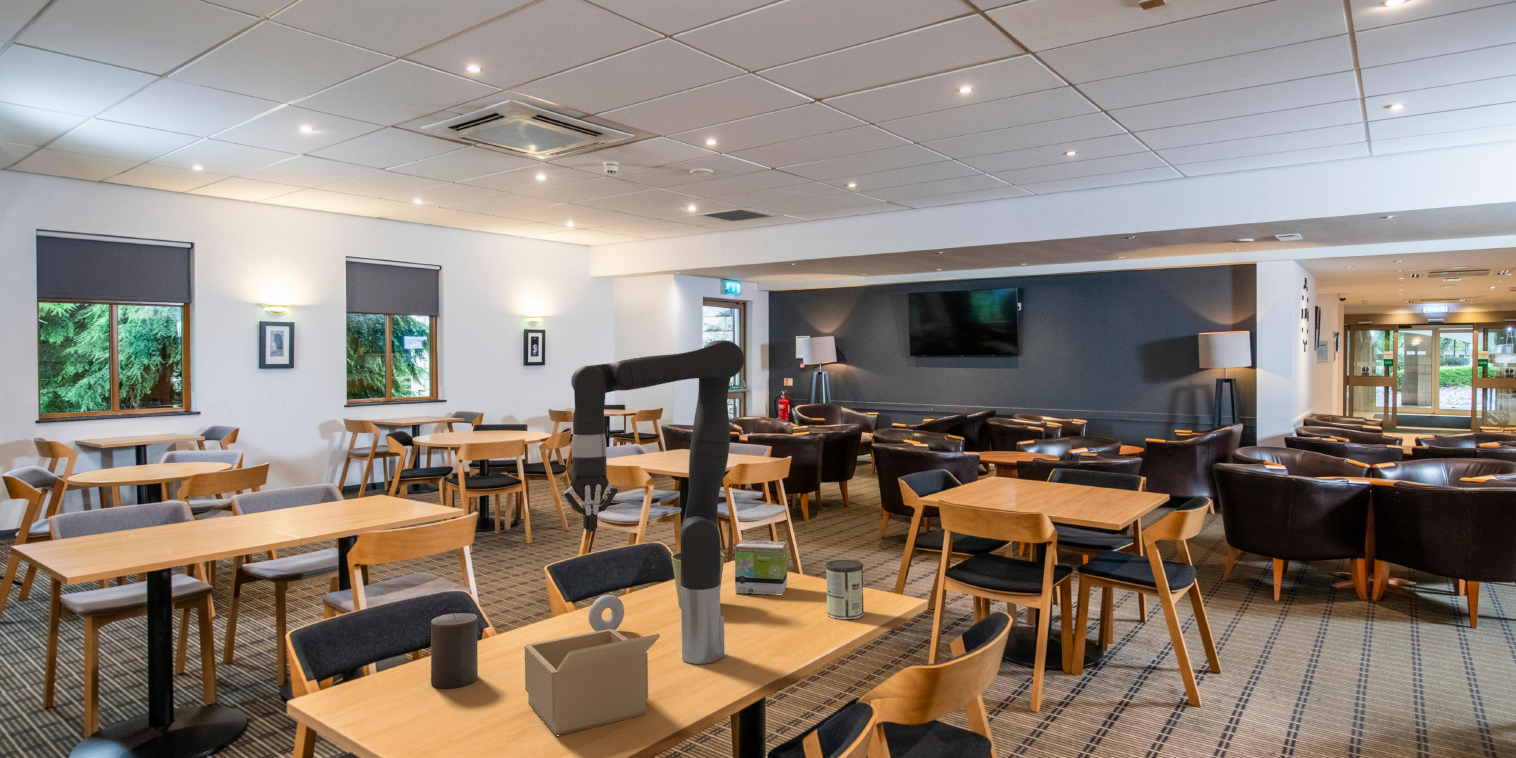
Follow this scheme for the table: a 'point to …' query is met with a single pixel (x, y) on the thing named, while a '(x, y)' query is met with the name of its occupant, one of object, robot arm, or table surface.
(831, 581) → the coffee can
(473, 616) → the pillar candle
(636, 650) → the carton flap
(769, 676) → the table surface
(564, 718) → the carton
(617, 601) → the donut
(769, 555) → the tea box
